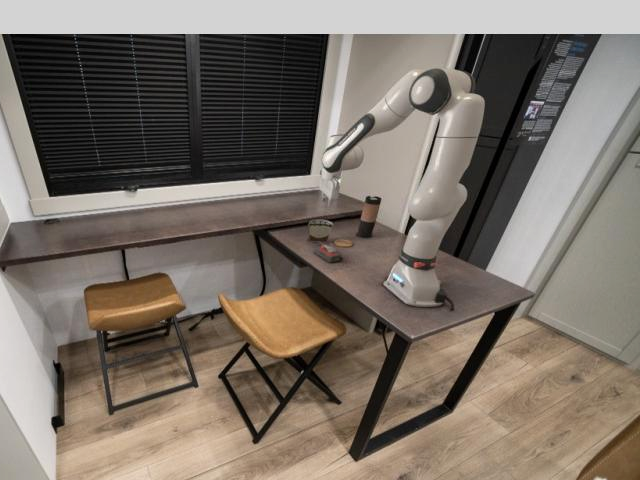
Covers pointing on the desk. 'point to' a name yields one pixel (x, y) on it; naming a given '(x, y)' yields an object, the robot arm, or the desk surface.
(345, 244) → the cork coaster
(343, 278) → the desk surface
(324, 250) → the walkie-talkie
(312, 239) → the food container
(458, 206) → the robot arm
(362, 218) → the travel mug
